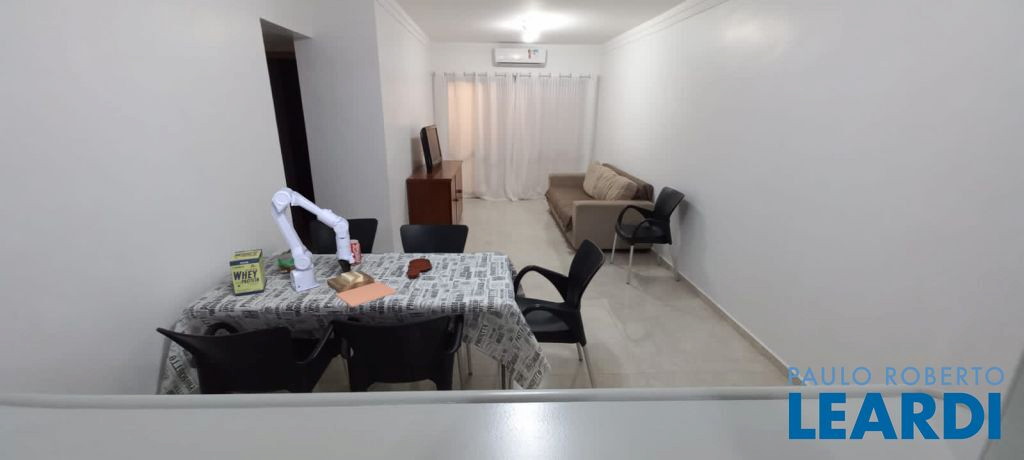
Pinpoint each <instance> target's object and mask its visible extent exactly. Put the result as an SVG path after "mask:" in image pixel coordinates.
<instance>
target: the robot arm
mask: <svg viewBox="0 0 1024 460" xmlns="http://www.w3.org/2000/svg"><path fill="white" fill-rule="evenodd" d="M289 205H290V206H292V207H293V206H295V207H296V206H300V207H301V208H303V209H305V210H306V211H308V212H310V213H312V214H313V215H316V217H317V219H318V221H320V223H321V222H322V223H323V224H325V225H326V226H328V227H329V228H331V229H333V231H334V232H335V243H336V250H337V251H336V252H335V256H336V257H337V259H338V260H337V261H336V262H338V264H339V265H340V267H341V270H342V273H346V272H350V271H351V270H352V269H351V268H352V266H353V265H352V263H354V258H353V255H354V253H351V245H350V240H351V239H350V231H349V226H350V224H349V221H348V220H347V219H346V218H344V217H342V216H340V215H337V214H336V213H333V210H331V209H330V208H329V209H327V208H320V207H319V206H318V205H316V204H315V203H314V202H312V201H310V200H309V199H307V198H306V197H304V196H303V195H302V194H301V193H299V192H298V191H294V190H292V189H291V188H289V187H281V188H280V189H279V190H278V191H277V192H276V193H275V194H273V196H272V198H271V207H270V215H271V217H272V218H273V221H274V222H275V225H276V226H277V228H278V230H279V231H280V233H281V235H282V237H283V238H284V241H286V243H287V246H288V248H289V250H290V249H291V251H292V256H293V258H294V265H295V268H296V269H294V270H292V271H290V273H289V277H290V278H289V279H290V282H291V283H290V284H291V286H290V288H292V289H293V290H294V291H296V292H297V293H298V292H303V291H307V290H309V289H314V288H317V287H320V286H321V285H320V283H318V282H316V273H315V266H314V264H313V263H312V261H313V258H314V255H313V253H312V252H311V251H310V250H308V248H307V247H306V246H305V245H304V244H303V242H302V240H301V238H300V237H299V235H298V233H297V231H296V230H295V228H294V226H293V224H292V222H291V220H290V219H289V217H288V215H287V212H286V211H287V208H288V207H289Z"/></svg>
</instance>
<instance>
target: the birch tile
mask: <svg viewBox="0 0 1024 460" xmlns="http://www.w3.org/2000/svg"><path fill="white" fill-rule="evenodd" d="M357 272H358V271H356V270H350V272H346V273H343V272H342V273H340V276H341V279H342V280H344V281H345V282H347V283H348V284H350V285H351V284H354V283H358V282H361V281H363V275H361V274H359V273H357Z"/></svg>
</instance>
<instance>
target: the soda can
mask: <svg viewBox="0 0 1024 460" xmlns="http://www.w3.org/2000/svg"><path fill="white" fill-rule="evenodd" d="M350 245H351V253H354V255H353V258H354V263H352V265H351V266H357V265H360V263H361V262H362V253H361V252H362V251H361V245H360V242H359V240H358V239H350Z"/></svg>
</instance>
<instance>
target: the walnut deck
mask: <svg viewBox="0 0 1024 460" xmlns="http://www.w3.org/2000/svg"><path fill="white" fill-rule="evenodd" d="M356 272H357V273H359V274H361V275H363V281H361V282H358V283H354V284H351V285H350V284H348V283H347V282H345V281H344V280H342V279H341V275H340V276H336V277H335V276H334V277H332V278H331V277H330V278H329V279H326V284H327V286H328V287H330V288H332V290H334V291H335V292H337V294H338V293H341V292H344V291H348V290H351V289H355V288H358V287H362V286H365V285H368V284H372V283H375V277H374V276H372V275H370V274H368V273H366V272H364V271H362V270H358V271H356Z"/></svg>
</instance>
